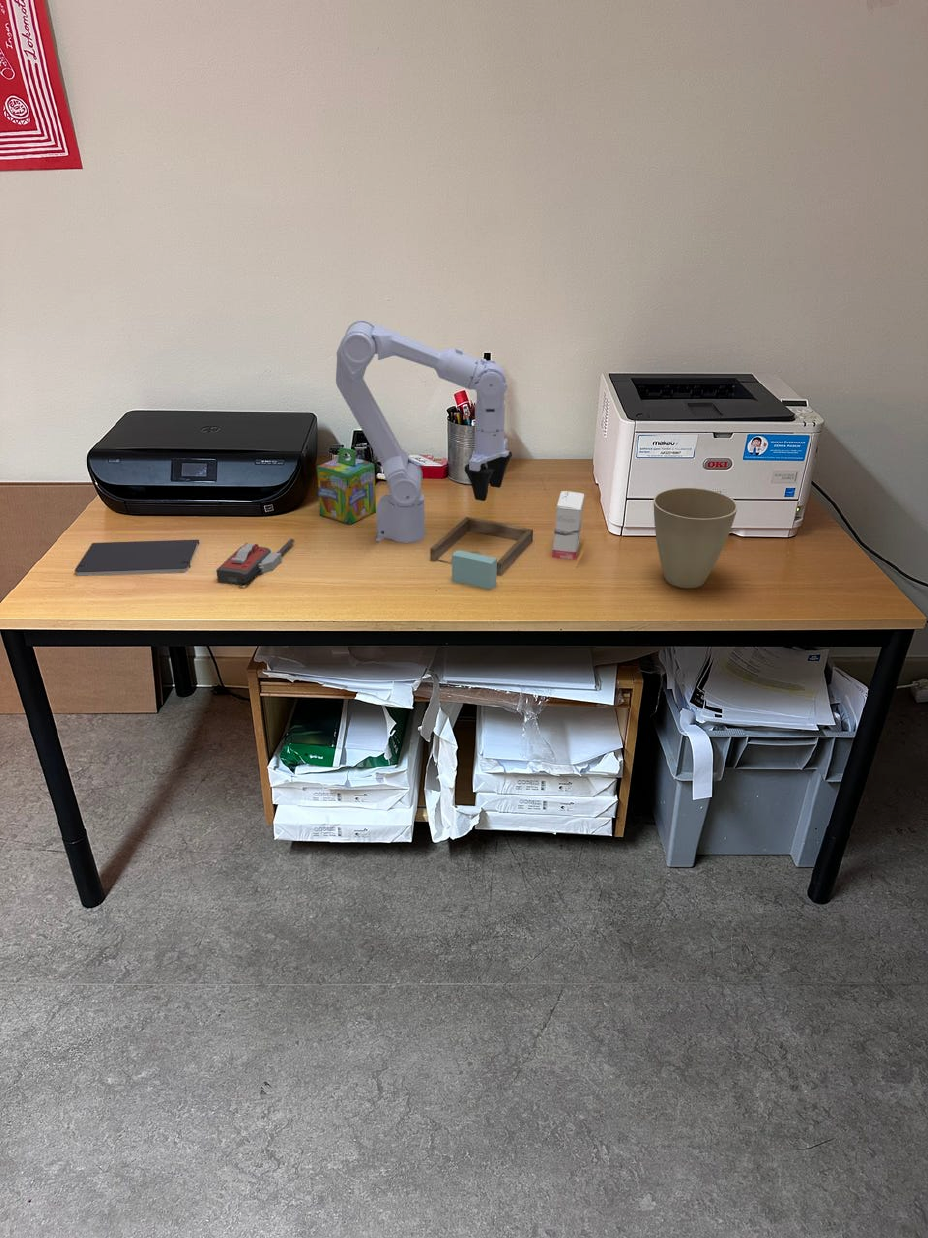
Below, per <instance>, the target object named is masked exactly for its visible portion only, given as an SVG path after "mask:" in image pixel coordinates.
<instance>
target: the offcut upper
mask: <svg viewBox="0 0 928 1238" xmlns="http://www.w3.org/2000/svg"><path fill="white" fill-rule="evenodd" d="M469 552H470V553H475V554H479V555H484V556H487V554H486V552H485V550H478V551H477V550H476V551H469ZM454 553H455V552H451V556H452V555H453V554H454Z"/></svg>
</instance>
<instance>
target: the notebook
mask: <svg viewBox="0 0 928 1238" xmlns="http://www.w3.org/2000/svg"><path fill="white" fill-rule="evenodd" d="M199 545H200V540H199V539H174V540H173V539H172V540H169V539H167V540H144V541H143V540H142V541H140V540H139V541H138V540H137V541H111V542H108V541H107V542H105V541H104V542H92V543H91V544H90V546H89V547H88V549H87V551H86V552H85V554H84V555H83V557H82V558H81V560H80V561H79V563H78V564H77V566H76V567H75V569H74V572H75V573H76V575H77V576H79V577H85V576H90V575H91V576H90V577H92V576H114V575H115V576H116V575H118V576H120V575H121V576H122V575H146V574H147V575H148V574H150V575H151V574H176V573H179V574H181V573H187V572H188V570H189V568H190V567H191V563H192V561H193V558H194V556H195V555H196V551H197V548H198V547H197V546H199Z"/></svg>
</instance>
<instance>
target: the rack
mask: <svg viewBox="0 0 928 1238" xmlns="http://www.w3.org/2000/svg"><path fill="white" fill-rule="evenodd" d="M468 532H472V533H473V532H474V533H477V534H478V533H479V534H481V535H482V534H483V535H488V536H492V537H493V536H494V537H498V538H503V539H508V540H513V541H516V542H514V544H512V546H511V547H509V549H508V550H506V552H505V553H504V554H503V555H502V556H501V557H500V558H499V559H498V560H497V576H499V577H500V576H502V575H503V574H505V572H506V571H507V570H508V569H509V568H510V567H511V566H512V565H513V564H514V562H515V561H516V560H517V559H518V558H519V557H520V556H521V554H523V552H524V551H525V550H526V549H527V548H528V547H529V546H530V545H531V544H532V543H533V540H534V529H532V528H531V529H530V528H526V527H522V526H521V527H520V526H515V525H510V524H505V523H500V522H495V521H494V522H493V521H488V520H484V519H480V518H474V517H469V516H466V517H464V518H463V519H462V520H461V521H460V522H459V523H458V524H457V525H455V526H454V527H453V528H452V529H451V530H450V531H449V532H448V533H446V534H445V535H444V536H443V537H442V538H441V539H439V540H438V541H437V542H436V543H435V544H434V545H433V546H432V547H430V551H429V552H430V553H429V555H430V561H431V562H439V563H443V564H448V565H449V564H450V565H452V561H448V560H443V559H439V558H441V557H442V556H443V554H445V553H446V552H447V551H448V550H449V549H450V548H452V547H453V546H454V545H455V544H456V543H457V542H458V541H459V540H460V539H461V538H462V537H464V536H465V534H467V533H468Z"/></svg>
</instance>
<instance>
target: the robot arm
mask: <svg viewBox="0 0 928 1238" xmlns="http://www.w3.org/2000/svg"><path fill="white" fill-rule="evenodd" d="M463 351H464V350H463V349H462V348H459V347H457V346H456V347H455V349H453V348H450V347H449V348H447V349H444V350H441V351H440V350H437V349H435V348H432V347H431V346H428V345H426V344H423V343H421V342H419V341H417V340H415V339H412V338H410V337H408V336H406V335H403V334H401V333H399V332H397V331H394V330H392V329H390V328H388V327H385V326H382V325H379V324H373V323H372V322H369V321H368V320H356V321H354V322H352V323H351V324H350V325H349V326H348V328H347V330H346V332H345V335H343V337H342V339H341V341H340V343H339V346H338V348H337V351H336V373H335V383H336V386H337V388H338V390H339V391H340V394H341V395H342V397H343V399H344V401H345V403H346V405H347V406H348V407H349V410H350V411H351V412H352V415H353V416H354V419H355V420H356V422H357V424H358V426H359V427H360V429H361V431H362V432H363V434H364V437H366V440H367V441H368V443H369V445H370V447H371V448H372V450H373V452H374V454H375V455H376V457H377V459H378V460H379V463H380V465H381V467H382V470H383V471H382V472H383V476H384V479H385V480H386V482H387V485H388V494H385V495H383V496H381V497H380V499H379V500H378V503H377V505H376V524H377V525H376V526H377V527H376V529H377V530H376V531H377V537H376V539H375V541H376V542H379V543H380V542H381V541H382V540H383V539H389V540H392V541H395V542H397V543H402V544H406V543H407V544H411V543H416V542H420V541H422V540H423V539H424V538H425V537H426V532H425V531H426V528H425V527H426V526H425V525H426V521H425V516H426V515H425V495H424V494H423V493H422V489H421V488H422V487H421V486H422V481H423V476H424V475H423V471H422V468H421V466H420V465H419V464H418V463H416V462H415V461H414V460H412V459H411V457H410V456H409V454H408V452H406V451H405V450H404V449H403V448H402V447H401V445H400V444H399V441H398V440H397V439H398V438H396V436H395V434H394V432H393V430H392V428H391V426H390V424H389V423H388V421H387V419H386V418H385V416H384V414H383V412H382V410H381V408H380V406H379V405H378V403H377V401H376V400H375V397H374V395H373V394H372V391H371V390H370V388H369V386H368V385H367V383H366V381H365V378H364V376H365V374H366V370H367V367H368V366H369V365H370V364H371V362H372V360H373V359H374V357H375V355H377V361H382V360H384V359H388V358H391V357H392V356H393V357H394V356H395V357H398V358H401V359H405V360H408V361H410V362H414V363H415V364H420V365H423V366H426V367H429V368H432V369H434V370H435V371H436V374H437V376H438V378H440V379H441V380H443V381H447V382H449V383H452V384H454V385H457V386H459V387H462V388H465V389H468V390H475V393H476V402H475V404H474V448H473V449H472V450H473V451H472V455H471V459H469V461H468V463H466V464H465V466H464V472H465V474H466V476H467V477H468V479H469V481H470V484H471V488H472V492H473V496H474V500H476V501H482V502H485V501H486V500H487V498H488V493H489V485H490V487H492V488H498V489H500V488H501V486H502V483H503V480H504V476H505V473H506V472H505V471H506V470H507V466H508V464H509V462H510V460H511V458H512V457H513V453H512V451H509V450H507V449H508V442H509V441H508V440H509V439H507V438H505V415H506V413H505V410H506V406H505V405H506V404H505V398H506V397H505V396H506V395H505V393H506V391H507V388H508V384H507V380H506V374H505V371H504V369H503V367H502V366H501V365H499V364H498V363H497V362H495V361H494V360H487V359H486V358H483V357H482V358H481V359H478V358H476V357H473V356H471V355H468V354H466V353H463ZM486 465H487V466H486Z"/></svg>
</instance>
